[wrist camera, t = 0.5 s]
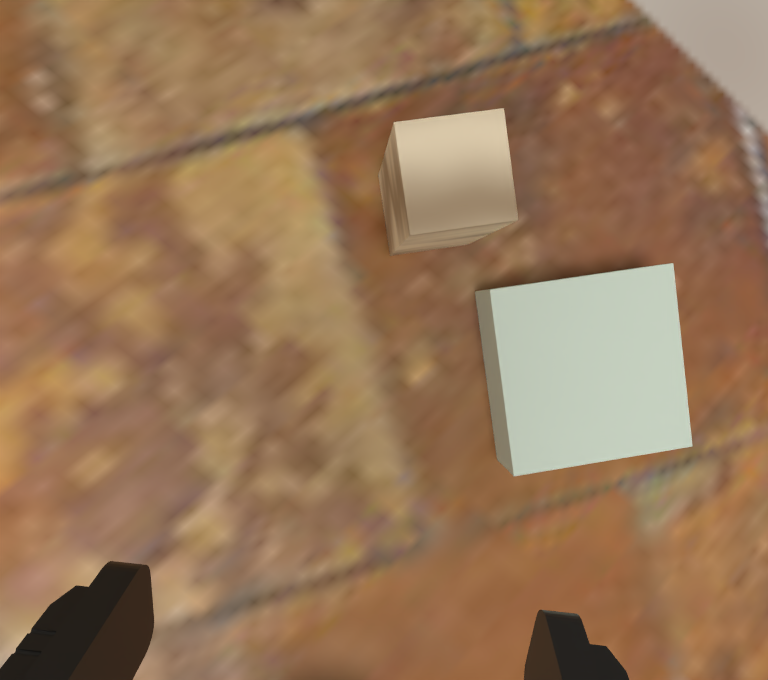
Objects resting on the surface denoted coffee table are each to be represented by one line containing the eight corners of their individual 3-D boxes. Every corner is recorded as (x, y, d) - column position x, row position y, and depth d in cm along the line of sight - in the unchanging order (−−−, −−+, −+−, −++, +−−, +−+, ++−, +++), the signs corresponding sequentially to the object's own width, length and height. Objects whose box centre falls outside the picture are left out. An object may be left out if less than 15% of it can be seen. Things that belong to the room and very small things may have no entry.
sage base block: (473, 291, 36) (489, 289, 32) (637, 267, 37) (673, 263, 33) (495, 457, 37) (513, 476, 33) (655, 431, 37) (692, 446, 33)
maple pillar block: (378, 175, 35) (393, 122, 25) (457, 164, 35) (503, 108, 25) (390, 255, 35) (410, 235, 25) (467, 244, 35) (518, 220, 25)
